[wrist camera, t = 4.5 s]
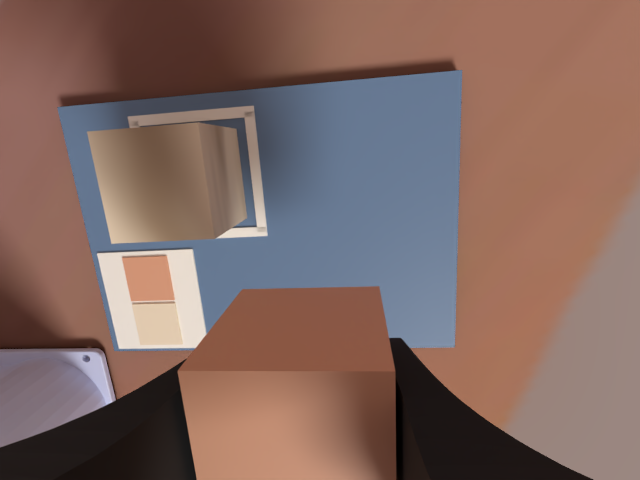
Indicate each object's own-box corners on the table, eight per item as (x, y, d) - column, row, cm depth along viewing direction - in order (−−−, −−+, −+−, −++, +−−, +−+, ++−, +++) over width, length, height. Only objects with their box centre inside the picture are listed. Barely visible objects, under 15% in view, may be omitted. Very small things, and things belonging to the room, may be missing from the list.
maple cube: (166, 222, 19) (111, 243, 15) (151, 135, 18) (86, 131, 14) (247, 218, 19) (214, 239, 14) (236, 128, 18) (198, 122, 13)
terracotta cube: (256, 405, 13) (206, 535, 9) (242, 289, 12) (177, 370, 7) (381, 406, 12) (396, 545, 8) (379, 286, 11) (395, 371, 7)
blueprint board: (120, 345, 22) (112, 352, 21) (66, 108, 19) (54, 106, 18) (451, 341, 20) (455, 349, 19) (458, 72, 17) (463, 69, 16)
